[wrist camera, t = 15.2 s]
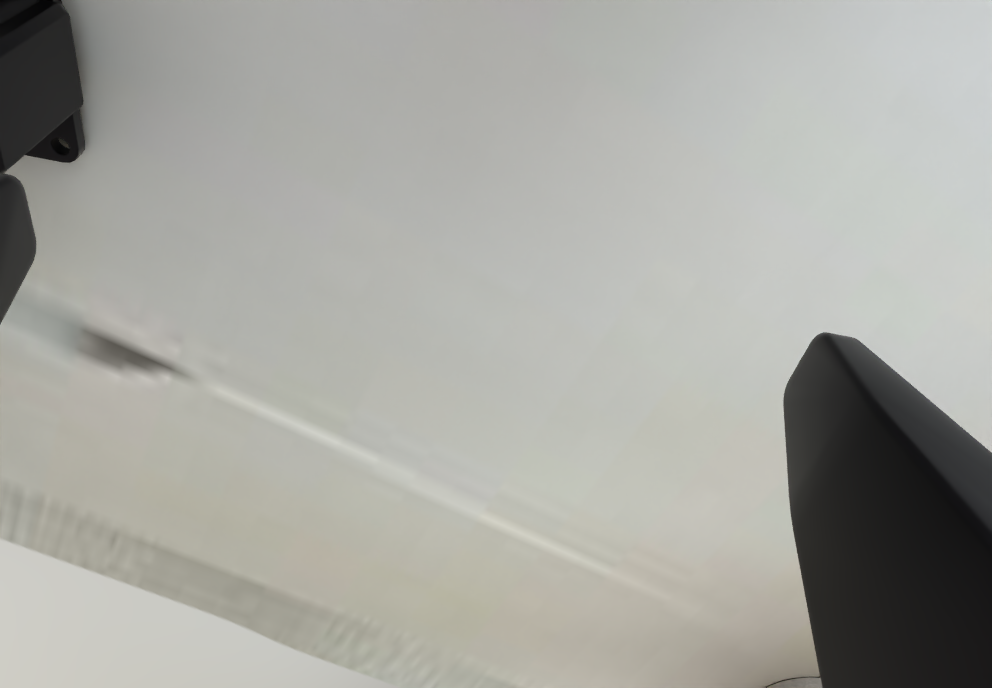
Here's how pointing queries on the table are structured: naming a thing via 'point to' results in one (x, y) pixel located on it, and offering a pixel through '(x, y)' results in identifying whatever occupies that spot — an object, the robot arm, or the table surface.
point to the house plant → (799, 683)
